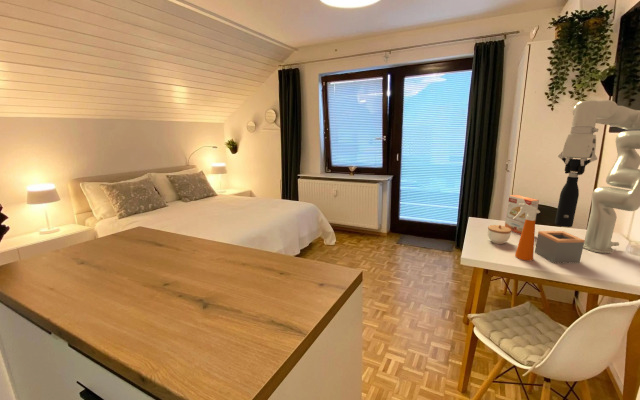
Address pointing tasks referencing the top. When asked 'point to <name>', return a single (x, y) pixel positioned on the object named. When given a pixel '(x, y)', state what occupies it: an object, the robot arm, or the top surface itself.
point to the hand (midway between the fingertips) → (573, 173)
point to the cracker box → (514, 209)
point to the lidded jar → (498, 234)
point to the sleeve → (559, 246)
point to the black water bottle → (568, 197)
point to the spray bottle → (527, 233)
